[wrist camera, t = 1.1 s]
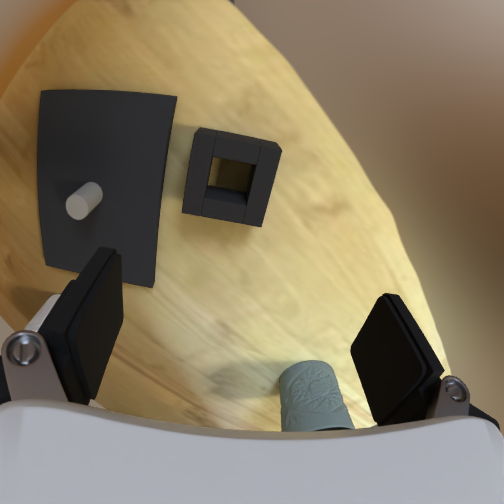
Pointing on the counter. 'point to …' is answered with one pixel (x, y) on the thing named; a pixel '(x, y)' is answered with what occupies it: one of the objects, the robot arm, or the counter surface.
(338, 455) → the robot arm
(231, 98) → the counter surface
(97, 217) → the base pad
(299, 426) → the grey green embossed cup
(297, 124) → the counter surface
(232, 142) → the black square frame
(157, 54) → the counter surface
